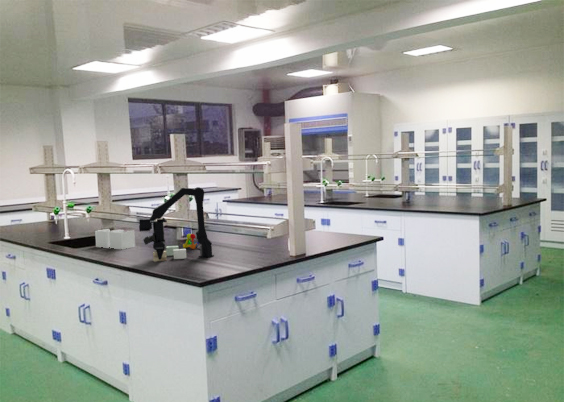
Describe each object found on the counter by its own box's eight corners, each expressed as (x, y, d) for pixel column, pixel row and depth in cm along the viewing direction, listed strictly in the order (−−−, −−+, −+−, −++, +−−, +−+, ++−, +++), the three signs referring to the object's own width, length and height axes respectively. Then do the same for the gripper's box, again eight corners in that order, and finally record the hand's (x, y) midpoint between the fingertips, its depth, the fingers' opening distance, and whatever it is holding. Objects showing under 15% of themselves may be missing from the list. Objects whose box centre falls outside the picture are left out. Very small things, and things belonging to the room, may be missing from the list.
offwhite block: (186, 257, 284) (185, 248, 284) (186, 258, 280) (186, 249, 280) (173, 258, 282) (173, 249, 282) (173, 259, 279) (173, 250, 278)
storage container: (96, 247, 328) (95, 230, 327) (109, 244, 337) (108, 228, 336) (122, 249, 315) (121, 232, 314) (135, 246, 324) (134, 230, 323)
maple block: (166, 259, 280) (166, 250, 279) (166, 260, 276) (166, 251, 275) (153, 260, 278) (153, 251, 278) (153, 261, 274) (153, 252, 274)
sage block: (178, 253, 295) (178, 245, 294) (178, 255, 291) (178, 246, 290) (166, 254, 293) (166, 246, 293) (166, 256, 289) (166, 247, 289)
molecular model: (197, 252, 320) (206, 240, 310) (185, 257, 313) (194, 245, 303) (188, 238, 322) (196, 226, 312) (176, 243, 315) (184, 231, 305)
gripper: (144, 229, 283) (145, 256, 284) (142, 233, 265) (144, 262, 266) (164, 227, 285) (165, 254, 287) (164, 232, 267) (165, 260, 268)
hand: (160, 258), depth 277 cm, fingers open, 9 cm apart
